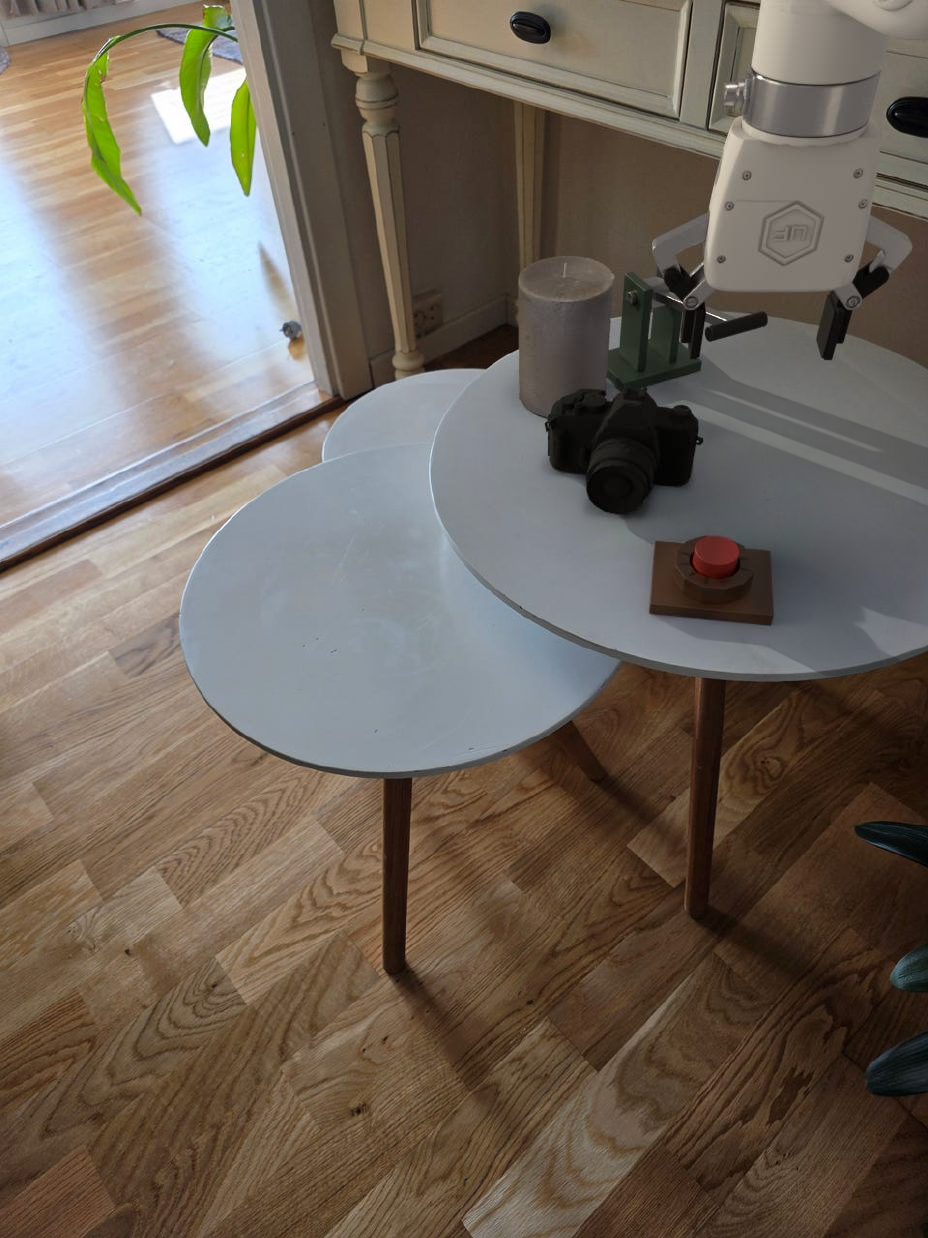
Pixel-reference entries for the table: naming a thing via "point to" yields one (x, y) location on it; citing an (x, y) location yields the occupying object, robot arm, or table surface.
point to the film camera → (621, 445)
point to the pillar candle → (563, 329)
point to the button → (715, 557)
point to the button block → (711, 586)
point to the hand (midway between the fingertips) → (757, 350)
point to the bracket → (647, 340)
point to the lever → (707, 313)
